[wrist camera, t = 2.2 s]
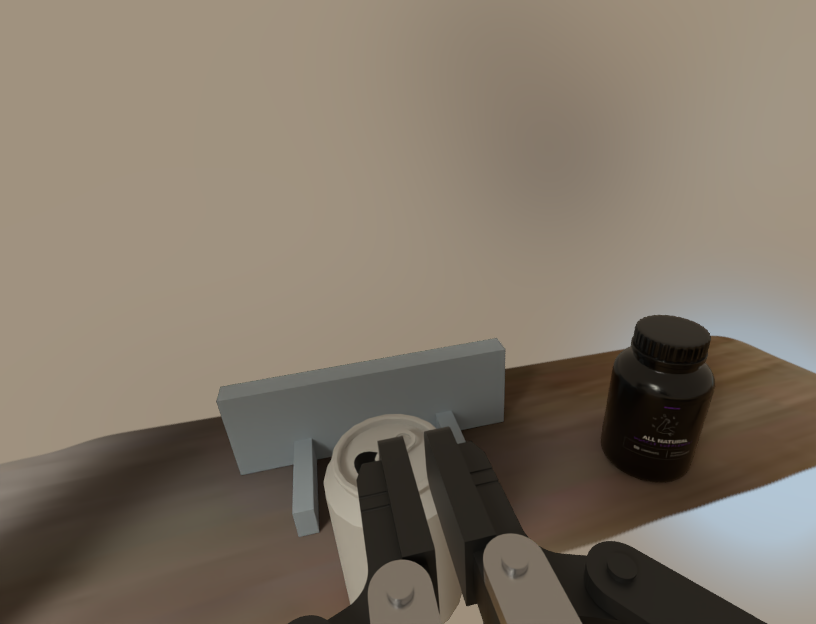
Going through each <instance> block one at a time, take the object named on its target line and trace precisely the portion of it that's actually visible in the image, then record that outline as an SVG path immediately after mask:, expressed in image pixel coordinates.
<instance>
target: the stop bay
mask: <svg viewBox="0 0 816 624" xmlns="http://www.w3.org/2000/svg"><path fill="white" fill-rule="evenodd" d="M504 386H505V348H504V347H503V346H502V344H501V343H500V342H499V341H498V339H497V338H495V339H488V340H483V341H477V342H472V343H466V344H460V345H454V346H449V347H444V348H437V349H432V350H426V351H420V352H415V353H409V354H403V355H398V356H393V357H387V358H381V359H375V360H369V361H364V362H358V363H353V364H347V365H341V366H336V367H330V368H324V369H318V370H313V371H307V372H301V373H296V374H290V375H284V376H279V377H273V378H267V379H262V380H256V381H251V382H245V383H240V384H233V385H228V386H223V387H220V390H219V394H218V398H217V401H216V402H217V405H218V408H219V411H220V414H221V417H222V420H223V423H224V426H225V429H226V432H227V435H228V438H229V441H230V443H231V446H232V449H233V452H234V455H235V458H236V461H237V464H238V467H239V470H240V473H241V475H244V474H249V473H254V472H259V471H264V470H269V469H274V468H278V467H283V466H288V465H293V464H294V469H293V510H292V514H293V518H294V521H295V525H296V528H297V532H298V535H299V537H301V536H305V535H310V534H314V533H319V509H318V482H317V460H318V459H322V458H327V457H332V455H333V450H334V447H335V446H336V444H337V443H338V441H339V440H340V438H341V437H342V435H344V434H345V433H346V432H347V431H348V430H350V429H351V428H352V427H353V426H355V425H357V424H359V423H361V422H363V421H365V420H367V419H369V418H373V417H377V416H381V415H385V414H404V415H410V416H415V417H418V418H420V419H422V420H425V421H427V422H429V423H431V424H432V425H433V426H434V427H435V428H436V429H438V428H443V427H448V426H449V427H450V428H451V430H452V432H453V435H454V437H455V439H456V442H457V444H459V443H464V442H466V441H465V439H464V437H463V435H462V432H461V430H464V429H469V428H474V427H479V426H484V425H488V424H493V423H498V422H503V421H504Z"/></svg>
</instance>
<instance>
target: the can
mask: <svg viewBox="0 0 816 624" xmlns="http://www.w3.org/2000/svg"><path fill="white" fill-rule="evenodd" d="M433 429H436V428H435V427H434V426H433V425H432V424H431V423H429V422H427V421H425V420H422V419H420V418H418V417H415V416H410V415H404V414H385V415H381V416H377V417H373V418H369V419H367V420H365V421H363V422H361V423H359V424H357V425H355V426H353V427H352V428H351V429H350V430H348V431H347V432H346V433H345V434H344V435H342V437H341V438H340V440H339V441H338V443H337V444H336V446H335V447H334V450H333V455H332V459H331V461H330V463H329V464H328V466H327V470H326V474H325V478H324V488H325V494H326V500H327V504H328V508H329V513H330V517H331V521H332V526H333V530H334V535H335V539H336V543H337V548H338V552H339V557H340V561H341V565H342V570H343V574H344V578H345V583H346V587H347V592H348V596H349V600H350V605H351V604H352V603H353V602H354V601H355V600H356V599H357V598H358V596H359V595H360V594H361V592H362V590H363V589H364V586H365V584H366V581H367V576H368V564H367V556H366V549H365V541H364V534H363V527H362V519H361V511H360V504H359V497H358V489H357V482H356V479H357V477H358V474H359V471H360V468H361V465H362V464H364V463H369V462H373V461H378V460H380V458H379V451H378V443H377V441H379V440H384V439H389V438H394V437H399V436H403V438H404V441H405V445H406V448H407V452H408V455H409V459H410V463H411V466H412V470H413V473H414V477H415V480H416V484H417V487H418V491H419V494H420V498H421V501H422V505H423V508H424V512H425V515H426V519H427V522H428V526H429V529H430V533H431V536H432V540H433V544H434V547H435V554H436V567H437V580H438V593H439V606H440V614H439V615H440V620H441V624H444V623H445V622H446V621H448V620H449V618H450V617H451V615H452V613H453V612H454V610H455V609H456V607H457V605H458V604H459V601H460V597H461V593H462V591H461V587H460V584H459V581H458V578H457V575H456V571H455V568H454V565H453V562H452V559H451V555H450V552H449V549H448V546H447V543H446V539H445V536H444V533H443V530H442V527H441V523H440V520H439V517H438V514H437V511H436V507H435V504H434V501H433V498H432V495H431V491H430V487H429V483H428V478H427V471H426V459H425V447H424V431H428V430H433Z"/></svg>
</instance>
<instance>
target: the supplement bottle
mask: <svg viewBox="0 0 816 624" xmlns="http://www.w3.org/2000/svg"><path fill="white" fill-rule="evenodd" d="M710 340H711V336H710V333H709V332H708V330H706V329H705V328H704V327H702V326H701V325H700V324H697V323H695V322H693V321H690V320H688V319H684V318H681V317H676V316H669V315H653V316H647V317H644V318H643V319H640V321H638V322H637V324H636V326H635V331H634V336H633V337H632V341H631V346H630V347H628V348H626V349H625V350H623V351H622V352H621V353H620V354H619V355H618V356H617V358H616V359H615V362H614V366H613V371H612V376H611V382H610V388H609V393H608V399H607V405H606V410H605V416H604V422H603V427H602V434H601V446H602V449H603V451H604V453H605V455H606V456H607V458H608V459H609V460H610V461H611V463H612V464H614V465H615V466H616V467H617V468H618V469H620V470H621V471H623V472H625V473H626V474H628V475H630V476H633V477H635V478H638V479H641V480H645V481H650V482H669V481H673V480H676V479H678V478H680V477H682V476H683V475H684V474H686V472H687V471H688V470H689V468H690V466H691V463H692V460H693V457H694V454H695V451H696V447H697V444H698V441H699V438H700V434H701V431H702V428H703V425H704V421H705V418H706V415H707V412H708V408H709V405H710V402H711V398H712V395H713V392H714V387H715V379H714V376H713V373H712V371H711V369H710V368H709V366H708V365H707V364H706V363H705V362H706V359H707V356H708V348H709V345H710Z"/></svg>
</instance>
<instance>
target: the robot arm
mask: <svg viewBox="0 0 816 624" xmlns="http://www.w3.org/2000/svg"><path fill="white" fill-rule="evenodd" d="M377 443H378V451H379V458H380V460H378V461H373V462H369V463H364V464H362V465H361V468H360V471H359V474H358V477H357V479H356V482H357V489H358V497H359V504H360V511H361V519H362V527H363V534H364V541H365V549H366V556H367V564H368V576H367V581H366V584H365V586H364V589H363V590H362V592H361V594H360V595H359V596H358V598H357V599H356V600H355V601H354V602H353V603H352V604H351V605H350V606H348V607H347V608H346V609H344V610H342V611H341V612H339V613H338V614H336V615H335V616H333V617H331V618H330V619H328V620H326V619H324V618H322V617H319V616H314V615H309V616H303V617H299V618H297V619H295V620H293V621H291V622H290V623H288V624H441V620H440V615H439V614H440V606H439V593H438V580H437V567H436V554H435V547H434V544H433V540H432V536H431V533H430V529H429V526H428V522H427V519H426V515H425V512H424V508H423V505H422V501H421V498H420V494H419V491H418V487H417V484H416V480H415V477H414V473H413V470H412V466H411V463H410V459H409V455H408V452H407V448H406V445H405V441H404V438H403V436H399V437H394V438H389V439H384V440H379V441H377ZM424 447H425V459H426V471H427V478H428V483H429V487H430V491H431V495H432V498H433V501H434V504H435V507H436V511H437V514H438V517H439V520H440V523H441V527H442V530H443V533H444V536H445V539H446V543H447V546H448V549H449V552H450V555H451V559H452V562H453V565H454V568H455V571H456V575H457V578H458V581H459V584H460V587H461V591H462V594H463V597H464V600H465V603H466V606H470V605H474V604H478V607H479V610H480V613H481V616H482V619H483V624H767V623H765V622H763V621H761V620H760V619H757V618H756V617H754V616H753V615H751V614H749V613H747V612H745V611H744V610H742V609H740V608H739V607H737V606H735V605H733V604H732V603H730V602H728V601H726V600H724V599H723V598H721V597H719V596H717V595H716V594H714V593H712V592H710V591H709V590H707V589H705V588H703V587H701V586H700V585H698V584H696V583H694V582H693V581H691V580H689V579H687V578H686V577H684V576H682V575H680V574H679V573H677V572H675V571H673V570H672V569H670V568H668V567H666V566H665V565H663V564H661V563H659V562H657V561H656V560H654V559H652V558H650V557H649V556H647V555H645V554H643V553H642V552H640V551H638V550H636V549H635V548H633V547H630V546H629V545H626V544H623V543H620V542H615V541H606V542H601V543H598V544H596V545H595V546H593V547H592V548H591V550H590V551H589V553H588V555H587V556H584V555H572V554H561V553H555V552H551V551H548V550H546V549H543V548H542V547H540V546H538V545H537V544H536V543H535V542H534V541H532V540H531V539H529V538H528V536H527V535H526V534H525V532H524V531H523V529H522V527H521V525H520V523H519V521H518V519H517V517H516V515H515V513H514V511H513V509H512V507H511V505H510V503H509V501H508V499H507V497H506V495H505V493H504V491H503V489H502V487H501V485H500V483H499V482H498V479H497V477H496V474H495V472H494V471H493V470H492V466H491V464H490V462H489V460H488V458H487V456H486V454H485V452H483V451H482V450H481V449H480V448H479V447H478V446H476V445H475V444H474V443H473V442H472V441H469V442H464V443H459V444H457V442H456V439H455V437H454V435H453V432H452V430H451V428H450V427H449V426H448V427H443V428H438V429H433V430H428V431H424Z"/></svg>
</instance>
